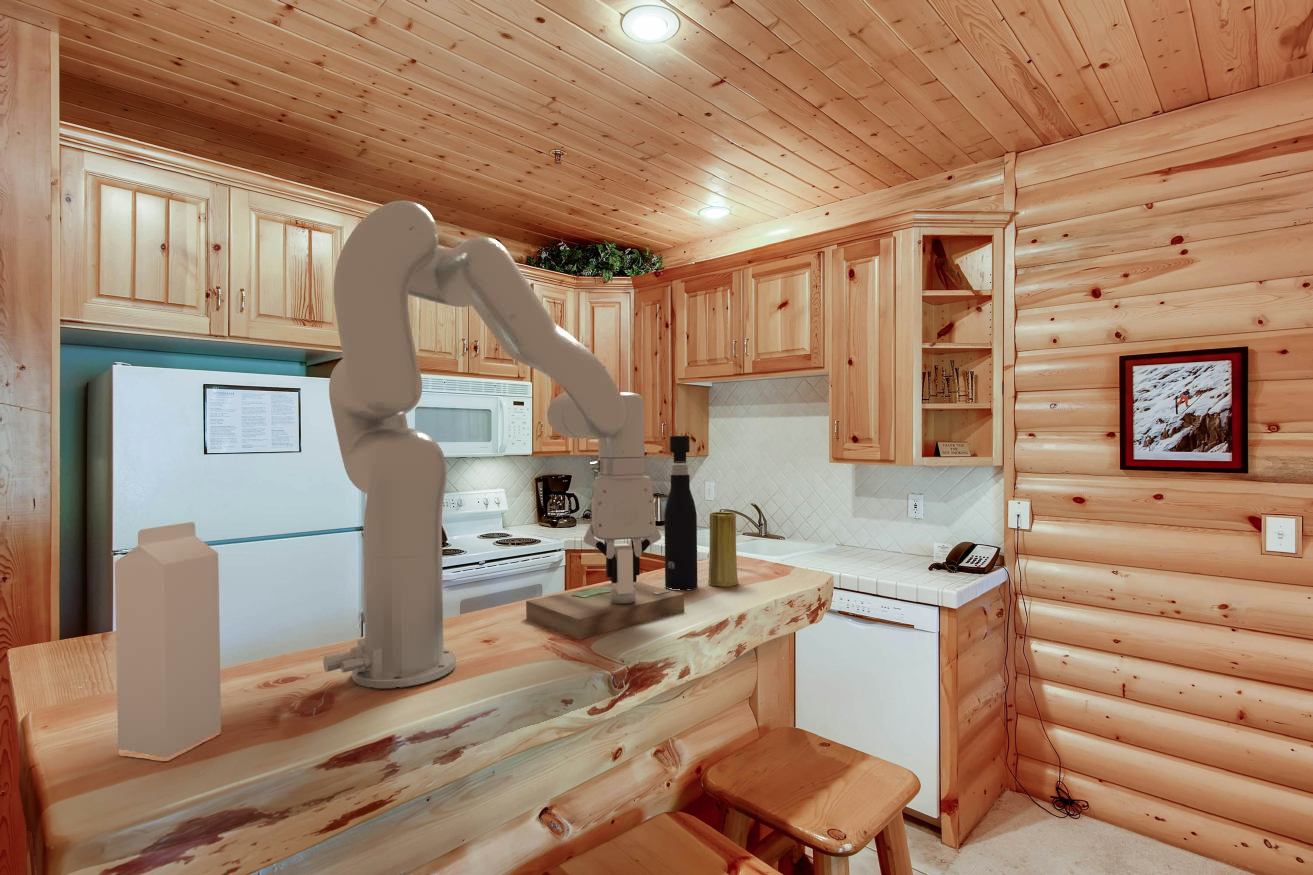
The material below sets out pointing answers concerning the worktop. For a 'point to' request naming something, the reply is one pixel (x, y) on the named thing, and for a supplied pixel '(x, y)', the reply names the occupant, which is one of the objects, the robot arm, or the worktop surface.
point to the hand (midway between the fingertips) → (623, 579)
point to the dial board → (601, 609)
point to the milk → (167, 642)
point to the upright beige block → (623, 575)
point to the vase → (723, 550)
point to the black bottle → (680, 523)
